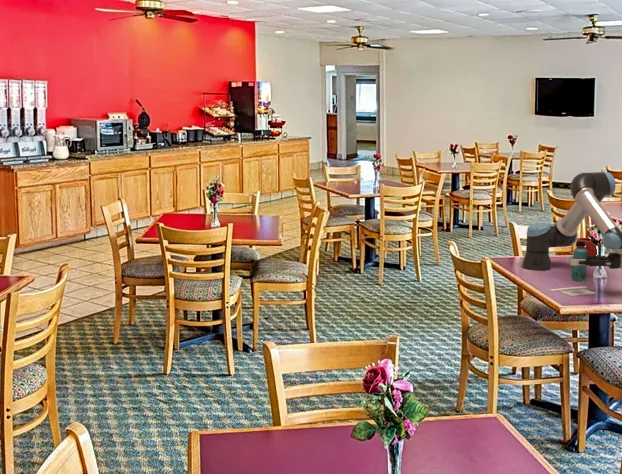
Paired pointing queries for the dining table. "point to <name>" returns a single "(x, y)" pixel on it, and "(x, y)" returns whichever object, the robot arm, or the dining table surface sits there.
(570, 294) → the mat
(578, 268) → the beverage bottle
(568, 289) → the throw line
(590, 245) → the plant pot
